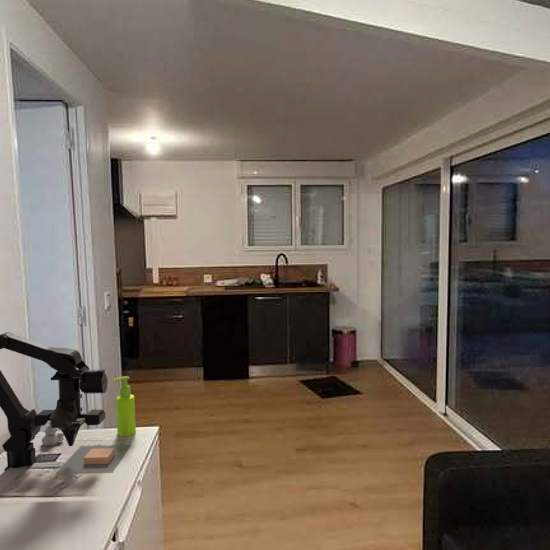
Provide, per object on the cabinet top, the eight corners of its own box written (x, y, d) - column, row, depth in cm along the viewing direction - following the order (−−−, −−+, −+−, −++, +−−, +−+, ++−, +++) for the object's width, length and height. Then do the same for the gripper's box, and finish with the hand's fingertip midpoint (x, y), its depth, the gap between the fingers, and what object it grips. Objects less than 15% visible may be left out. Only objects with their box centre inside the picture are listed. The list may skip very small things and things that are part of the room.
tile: (83, 457, 135) (107, 457, 135) (91, 448, 141) (114, 448, 141) (83, 464, 135) (108, 464, 135) (91, 455, 141) (114, 455, 141)
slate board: (54, 476, 130) (54, 473, 130) (80, 448, 148) (80, 446, 148) (112, 475, 130) (112, 472, 130) (131, 447, 148) (131, 445, 148)
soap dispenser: (111, 435, 158) (109, 377, 157) (131, 429, 163) (128, 373, 161) (119, 440, 154) (117, 380, 152) (138, 434, 158) (136, 376, 157)
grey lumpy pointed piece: (43, 443, 153) (42, 419, 152) (65, 440, 155) (64, 417, 154) (40, 450, 147) (39, 425, 147) (63, 447, 149) (62, 422, 149)
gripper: (23, 403, 129) (25, 458, 130) (91, 402, 129) (92, 457, 130) (42, 390, 140) (44, 441, 141) (105, 390, 140) (106, 441, 141)
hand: (71, 445), depth 138 cm, fingers closed
